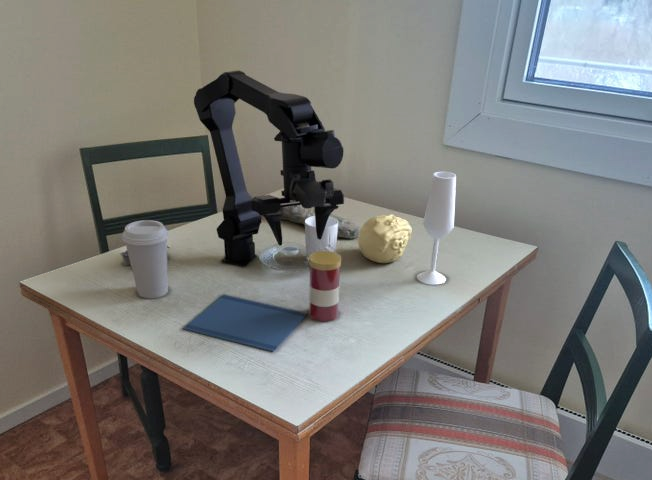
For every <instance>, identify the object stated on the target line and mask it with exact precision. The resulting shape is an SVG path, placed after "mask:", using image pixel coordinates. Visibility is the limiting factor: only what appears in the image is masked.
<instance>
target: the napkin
mask: <svg viewBox="0 0 652 480" xmlns="http://www.w3.org/2000/svg"><path fill="white" fill-rule="evenodd" d="M307 316H308V313H307V312H304V311H299V310H294V309H290V308H286V307H281V306H276V305H271V304H268V303H263V302H259V301H254V300H250V299H245V298H241V297H236V296H233V295H227V294H222V295H221V296H219V298H218V299H216V300H215V301H214V302H213V303H212V304H210V305H208V306H207V308H205V309H204V310H203V311H202V312H201V313H199V314H198V315H197V316H196V317H194V318H193V319H192V320H190V322H188V323H187V324H186V325H184V326H183V328H182V329H183V330H185V331H189V332H193V333H195V334H196V333H197V334H201V335H204V336H208V337H213V338H216V339H220V340H224V341H228V342H232V343H235V344H236V343H237V344H239V345H240V344H241V345H244V346H245V345H246V346H249V347H253V348H256V349H260V350H263V351H268V352H271V353H273V352H275V351H276V349H278V348H279V346H280V345H281V344H282V343H283V342H284V341H285V340H286V338H287V337H288V336H290V334H292V332H293V331H294V330H295V329H296V328H297V327H298V326H299V324H300V323H301V322H302V321H303V320H304V319H305V318H306V317H307Z"/></svg>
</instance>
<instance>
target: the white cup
mask: <svg viewBox="0 0 652 480" xmlns="http://www.w3.org/2000/svg"><path fill="white" fill-rule="evenodd" d="M337 232H338V220H337V219H335V218H333V217H330V216H329V218H328V220H327V223H326V226H325V229H324V232H323V236H322V239H320V240H319V239H318V238H317V233H316V222H315V216H312V217H309V218H307V219H306V220H305V224H304V235H305V236H304V239H305V249H306V250H305V251H306V253H305V254H306V255H307V257H308V258H309V256H310V255H311V254H312V253H315V252H319V251H330V252H335V253H336V250H337V243H338V241H337V240H338V236H337ZM307 257H306V262H307V263H308V264H309V260H308V259H307Z"/></svg>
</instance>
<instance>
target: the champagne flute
mask: <svg viewBox="0 0 652 480" xmlns="http://www.w3.org/2000/svg"><path fill="white" fill-rule="evenodd" d="M432 174H433V175H432V180H431V184H430V189H429V192H428V198H427V202H426V208H425V213H424V217H423V220H422V226H423V229H424V231H425V232H426V233H427V234H428V235H429V236H430V237H431V239H433V243H432V249H431V250H432V251H431V257H430V258H431V259H430V265H429V270H426V271H423V272H420V273H418V274H417V276H416V279H417V280H418V281H419V282H420V283H423V284H426V285H432V286H433V285H435V286H436V285H441V284H444V283H446V281H447V278H446V276H444V275H443V274H442V273H440V272H438V271H436V265H437V258H438V250H439V243H440V240H442V239H443V238H444V237H446V236H447V235H449V234H450V233H451V232H452V230H453V229H454V227H455V213H456V212H455V211H456V210H455V209H456V187H457V174H455V173H454V172H451V171H435V172H434V173H432Z"/></svg>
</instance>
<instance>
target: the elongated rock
mask: <svg viewBox="0 0 652 480" xmlns="http://www.w3.org/2000/svg"><path fill="white" fill-rule="evenodd" d="M290 202H292V201H291V200H290ZM278 213H280V214H282V218H281V220H284V221H289V222H292V223H296V224H303V225H305V220H306V219H307V218H309V217H312V216H315V209H314V207H312V208H309V209H307V208H304V207H302V205H296V206H288V207H281V209H280V210H279V212H278ZM330 217H333V218H335V219H337V220H338V232H337V237H339V238H344V239H358V236H359V232H360V230H361V226H359V225H358V224H357V223H356V222H354V221H353V220H349V219H346V218H344V217H341V216H338V215H336V214H332V213H331V214H330Z"/></svg>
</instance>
